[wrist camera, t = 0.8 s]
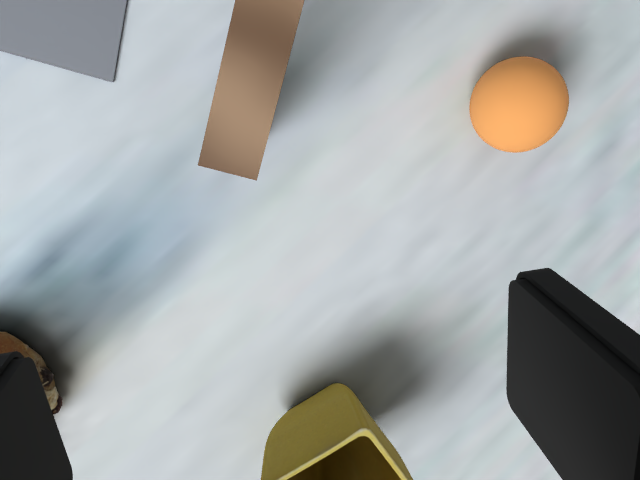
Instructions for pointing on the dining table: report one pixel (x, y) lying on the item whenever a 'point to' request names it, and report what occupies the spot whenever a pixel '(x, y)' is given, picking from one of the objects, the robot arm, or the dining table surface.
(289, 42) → the bridge
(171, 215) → the dining table surface
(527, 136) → the ball
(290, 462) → the flower pot
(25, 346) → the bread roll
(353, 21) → the dining table surface
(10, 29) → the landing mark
